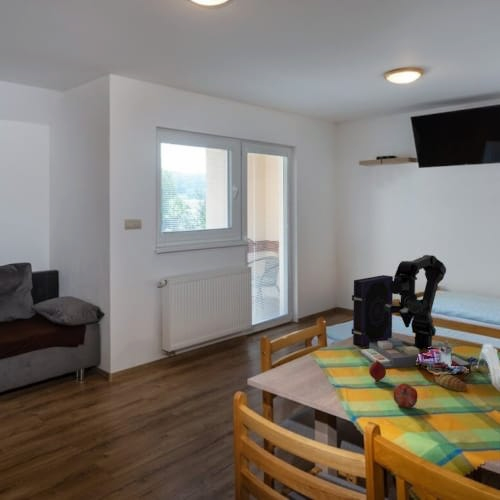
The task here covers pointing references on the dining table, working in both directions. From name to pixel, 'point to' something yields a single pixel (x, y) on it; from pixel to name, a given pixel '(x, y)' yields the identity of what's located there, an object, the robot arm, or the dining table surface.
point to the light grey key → (384, 344)
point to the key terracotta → (392, 351)
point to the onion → (377, 371)
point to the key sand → (411, 350)
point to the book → (371, 310)
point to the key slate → (395, 341)
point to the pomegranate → (405, 395)
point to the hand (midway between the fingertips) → (407, 327)
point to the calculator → (457, 363)
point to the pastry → (451, 382)
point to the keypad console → (388, 356)
